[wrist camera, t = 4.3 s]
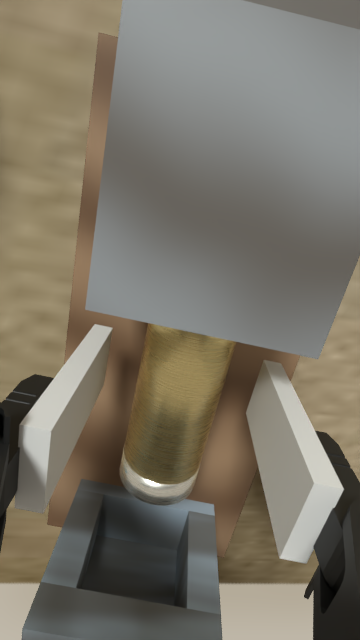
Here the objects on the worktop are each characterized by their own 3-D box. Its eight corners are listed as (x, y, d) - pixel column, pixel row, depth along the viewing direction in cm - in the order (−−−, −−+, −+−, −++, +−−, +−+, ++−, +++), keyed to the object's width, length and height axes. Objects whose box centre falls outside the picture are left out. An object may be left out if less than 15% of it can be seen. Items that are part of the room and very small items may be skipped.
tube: (195, 91, 13) (195, 53, 9) (292, 114, 13) (328, 86, 9) (127, 439, 18) (111, 496, 15) (194, 453, 18) (194, 512, 15)
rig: (106, 44, 14) (-18, -159, 6) (379, 111, 15) (619, 7, 6) (54, 508, 24) (-23, 681, 16) (222, 541, 24) (236, 725, 16)
